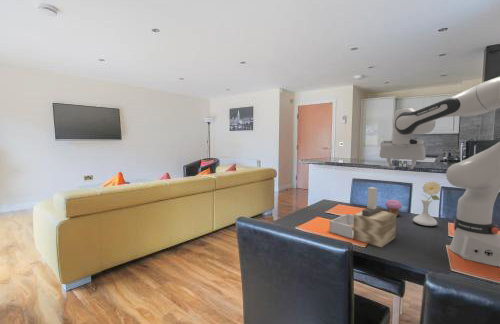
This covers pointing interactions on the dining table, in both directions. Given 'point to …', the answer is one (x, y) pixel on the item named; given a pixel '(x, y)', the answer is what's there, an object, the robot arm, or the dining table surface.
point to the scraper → (371, 203)
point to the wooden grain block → (375, 228)
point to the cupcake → (393, 206)
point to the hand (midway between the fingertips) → (400, 168)
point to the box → (342, 226)
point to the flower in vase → (424, 217)
